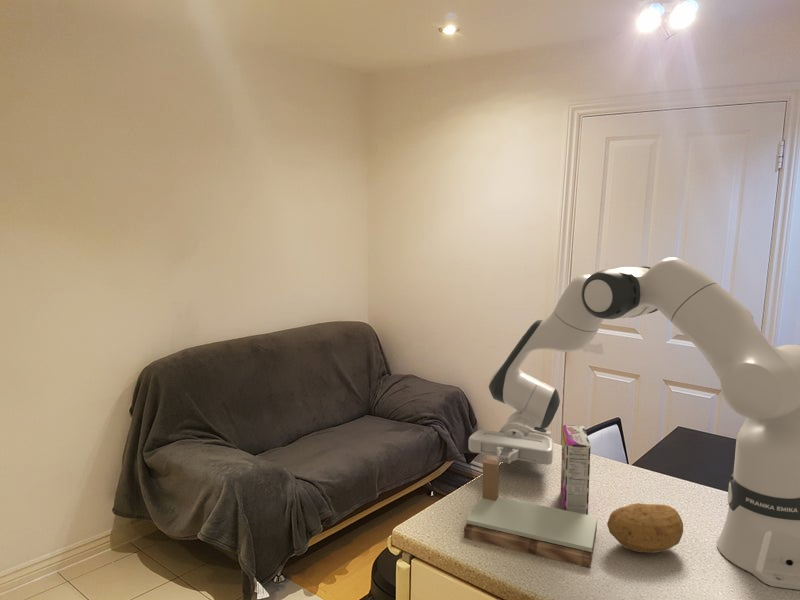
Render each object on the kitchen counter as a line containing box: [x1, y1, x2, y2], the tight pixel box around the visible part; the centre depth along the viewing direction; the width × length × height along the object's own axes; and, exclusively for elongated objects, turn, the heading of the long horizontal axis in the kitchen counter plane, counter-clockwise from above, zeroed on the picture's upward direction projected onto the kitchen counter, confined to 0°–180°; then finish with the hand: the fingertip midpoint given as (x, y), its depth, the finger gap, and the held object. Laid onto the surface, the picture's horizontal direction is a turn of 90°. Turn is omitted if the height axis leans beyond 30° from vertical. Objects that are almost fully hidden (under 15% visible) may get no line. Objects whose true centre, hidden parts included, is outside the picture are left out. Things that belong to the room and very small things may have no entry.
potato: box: [606, 502, 684, 553], centre depth 103 cm, size 10×14×8 cm
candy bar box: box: [560, 424, 591, 515], centre depth 118 cm, size 11×5×16 cm, turn 168°
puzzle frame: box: [463, 523, 598, 569], centre depth 108 cm, size 24×13×2 cm, turn 66°
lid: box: [466, 458, 598, 552], centre depth 108 cm, size 24×12×9 cm, turn 66°
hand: (503, 459), depth 126 cm, fingers closed
